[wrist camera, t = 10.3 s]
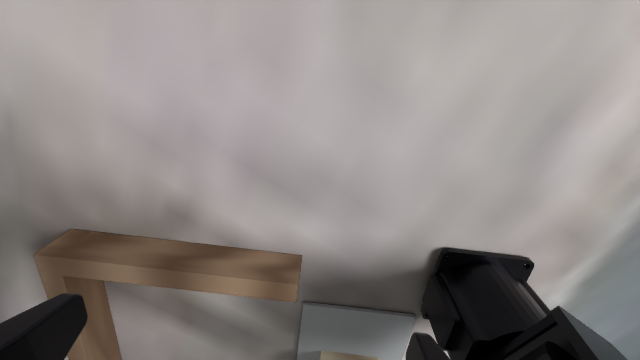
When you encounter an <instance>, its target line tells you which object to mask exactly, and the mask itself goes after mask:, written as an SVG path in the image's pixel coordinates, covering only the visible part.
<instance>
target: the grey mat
mask: <svg viewBox="0 0 640 360" xmlns="http://www.w3.org/2000/svg"><path fill="white" fill-rule="evenodd" d="M415 319H416V316H415V314H407V313H398V312H390V311H381V310H372V309H363V308H354V307H346V306H337V305H328V304H319V303H311V302H303V309H302V318H301V326H300V334H299V342H298V351H297V359H296V360H320V355H321V350H322V351H330V352H338V353H347V354H355V355H363V356H372V357H379V360H402V357H403V354H404V351H405V348H406V345H407V342H408V339H409V336H410V333H411V331H412V328H413V325H414V322H415Z"/></svg>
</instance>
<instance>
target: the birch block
mask: <svg viewBox="0 0 640 360" xmlns="http://www.w3.org/2000/svg"><path fill="white" fill-rule="evenodd" d="M320 360H379V357H372V356H363V355H355V354H347V353H338V352H330V351H322V350H321V355H320Z"/></svg>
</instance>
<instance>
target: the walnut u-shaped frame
mask: <svg viewBox="0 0 640 360" xmlns="http://www.w3.org/2000/svg"><path fill="white" fill-rule="evenodd" d="M33 256H34V259H35V262H36V265H37V268H38V270H39V273H40V276H41V279H42V282H43V285H44V288H45V291H46V294H47V297H48V300H49V299H51V298H53V297H55V296H57V295H59V294H62V293H66V292H67V293H77V294H81V295H82V296H83V299H84V302H85V306H86V310H87V313H88V320H87V323H86V325H85V327H84V328H83V330H82V332H81V333H80V335H79V337H78V338H77V340H76V341H75V343H74V345H73V346H72V348H71V349H70V351H69V353H68V354H67V355H68V358H69V360H122V359H121V355H120V350H119V346H118V342H117V338H116V333H115V329H114V325H113V321H112V316H111V312H110V308H109V303H108V299H107V295H106V291H105V286H104V282H103V280H104V281H113V282H122V283H131V284H140V285H148V286H157V287H166V288H175V289H184V290H192V291H201V292H210V293H219V294H228V295H236V296H245V297H254V298H263V299H272V300H280V301H289V302H296V299H297V292H298V285H299V278H300V271H301V262H302V255H293V254H285V253H276V252H267V251H259V250H250V249H241V248H233V247H224V246H215V245H207V244H198V243H189V242H181V241H172V240H164V239H155V238H146V237H138V236H129V235H120V234H112V233H103V232H94V231H86V230H77V229H70V230H68V231H67V232H66V233H64V234H63V235H61V236H60V237H58V238H57V239H55V240H54V241H52V242H51V243H49V244H48V245H47V246H45V247H44V248H42V249H41V250H39V251H38V252H36V253H35V254H33Z"/></svg>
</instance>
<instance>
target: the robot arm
mask: <svg viewBox="0 0 640 360" xmlns="http://www.w3.org/2000/svg"><path fill="white" fill-rule="evenodd" d="M447 255H450V256H449V257H446V256H447ZM525 264H526V265H525ZM533 268H534V263H533V262H532V261H531V260H530V259H529V258H527V257H520V256H511V255H503V254H494V253H485V252H477V251H468V250H460V249H451V248H446V249H444V250H442V251H441V253H440V256H439V258H438V261H437V264H436V267H435V270H434V273H433V274H432V275H431V276H430V279H429V281H428V284H427V287H426V290H425V293H424V296H423V299H422V301H423V305H422V308H421V314H422V316H423V318H424V319H428V320H429V321H430V324H431V326H432V329H433V332H434V335H435V337H436V340H437V343H438V344H437V343H436V342H435V340H434V339H433V338H432V337H431V336H430V335H429V334H426V333H418V332H415V333H413V334H412V337H411V340H410V343H409V346H408V348H407V352H406V360H627V359H626V358H625V357H624V356H623V355H622V354H621V353H620V352H619V351H618V350H617V349H616V348H615V347H614V346H613V345H612V344H611V343H609V342H608V341H607V340H605V339H604V338H603V337H601V336H600V335H598V334H597V333H596V332H594V331H593V330H592V329H590V328H589V327H587V326H586V325H585V324H583V323H582V322H581V321H579V320H578V319H576V318H575V317H574V316H572V315H571V314H570V313H568V312H567V311H565V310H564V309H563V308H561V307H560V306H557V307H556V308H554V309H553V310H551V311H550V310H549V308H548V307H547V306H546V305H545V304H544V302H543V301H542V300H541V299H540V298H539V297H538V295H537V294H536V293H535V292H534V291H533V289H532V288H531V287H530V286H529V285H528V283H527V280H528V278H529V276H530V274H531V272H532V270H533ZM87 320H88V313H87V310H86V306H85V302H84V299H83V296H82V295H81V294H77V293H67V292H66V293H62V294H59V295H57V296H55V297H53V298H51V299H49V300H47V301H45V302H43V303H41V304H39V305H37V306H35V307H33V308H31V309H29V310H27V311H24V312H22V313H20V314H18V315H16V316H14V317H12V318H10V319H8V320H6V321H4V322H2V323H0V360H64V359H65V357H66V356H67V354H68V353H69V351H70V349H71V348H72V346H73V345H74V343H75V341H76V340H77V338H78V337H79V335H80V333H81V332H82V330H83V328H84V327H85V325H86V323H87ZM444 351H447V352H448V355H449V357H450V359H449V357H448V356H447V355H446V354H445V352H444Z"/></svg>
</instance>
